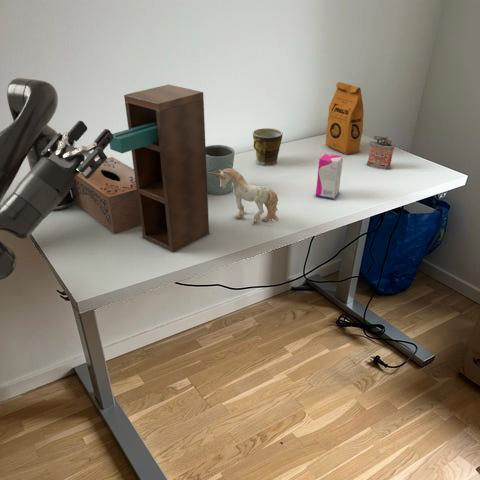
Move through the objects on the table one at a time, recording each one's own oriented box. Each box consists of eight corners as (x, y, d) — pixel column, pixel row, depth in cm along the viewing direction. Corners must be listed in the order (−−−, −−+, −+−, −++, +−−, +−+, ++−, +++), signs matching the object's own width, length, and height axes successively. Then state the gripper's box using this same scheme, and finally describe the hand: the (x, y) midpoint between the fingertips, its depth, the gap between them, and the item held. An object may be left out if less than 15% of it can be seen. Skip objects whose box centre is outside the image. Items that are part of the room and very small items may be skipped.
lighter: (391, 167, 167) (397, 137, 161) (388, 170, 165) (394, 139, 159) (369, 162, 170) (373, 132, 164) (365, 165, 168) (370, 135, 162)
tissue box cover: (161, 218, 136) (157, 183, 130) (114, 233, 129) (108, 197, 123) (117, 189, 152) (112, 156, 146) (73, 201, 145) (65, 167, 139)
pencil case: (122, 153, 103) (120, 138, 101) (110, 149, 105) (107, 134, 103) (196, 129, 116) (196, 115, 114) (184, 126, 118) (184, 112, 116)
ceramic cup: (262, 155, 176) (263, 126, 170) (286, 161, 172) (288, 131, 165) (241, 165, 168) (241, 136, 162) (265, 172, 163) (267, 141, 157)
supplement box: (339, 192, 150) (344, 155, 143) (333, 200, 146) (338, 161, 139) (320, 189, 152) (324, 152, 145) (314, 196, 148) (318, 158, 141)
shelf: (172, 252, 121) (158, 103, 100) (142, 238, 127) (123, 94, 106) (209, 233, 129) (203, 92, 108) (179, 221, 135) (168, 84, 114)
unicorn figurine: (216, 208, 141) (214, 162, 133) (283, 217, 137) (285, 169, 129) (208, 219, 135) (206, 172, 127) (277, 228, 131) (280, 180, 123)
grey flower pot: (206, 181, 157) (205, 143, 149) (237, 184, 155) (237, 145, 148) (198, 194, 149) (196, 154, 142) (230, 197, 147) (230, 157, 140)
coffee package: (342, 156, 175) (351, 90, 162) (321, 146, 184) (327, 82, 170) (364, 152, 179) (374, 86, 166) (341, 142, 188) (349, 79, 174)
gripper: (36, 191, 101) (86, 135, 105) (77, 211, 94) (129, 150, 97) (10, 165, 95) (64, 106, 99) (51, 184, 88) (108, 120, 91)
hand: (96, 128), depth 98 cm, fingers open, 8 cm apart
